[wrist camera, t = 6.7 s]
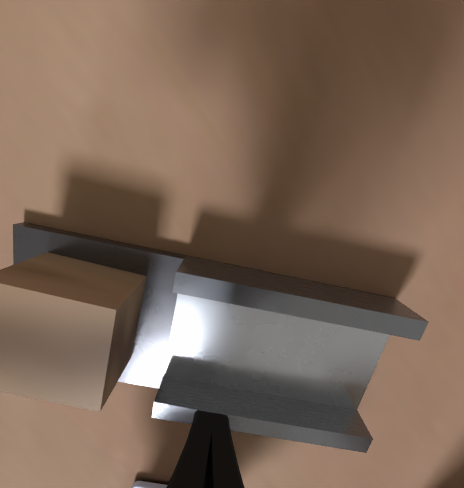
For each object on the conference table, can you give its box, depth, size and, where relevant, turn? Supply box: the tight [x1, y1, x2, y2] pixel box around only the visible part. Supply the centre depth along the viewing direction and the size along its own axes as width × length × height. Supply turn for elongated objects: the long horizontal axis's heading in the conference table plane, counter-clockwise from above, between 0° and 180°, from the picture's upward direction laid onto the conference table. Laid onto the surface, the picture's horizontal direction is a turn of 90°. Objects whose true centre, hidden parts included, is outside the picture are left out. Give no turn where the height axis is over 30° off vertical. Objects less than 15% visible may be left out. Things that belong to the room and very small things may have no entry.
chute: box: [13, 223, 428, 453], centre depth 15 cm, size 10×24×3 cm, turn 78°
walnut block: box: [0, 252, 147, 412], centre depth 13 cm, size 6×6×4 cm
